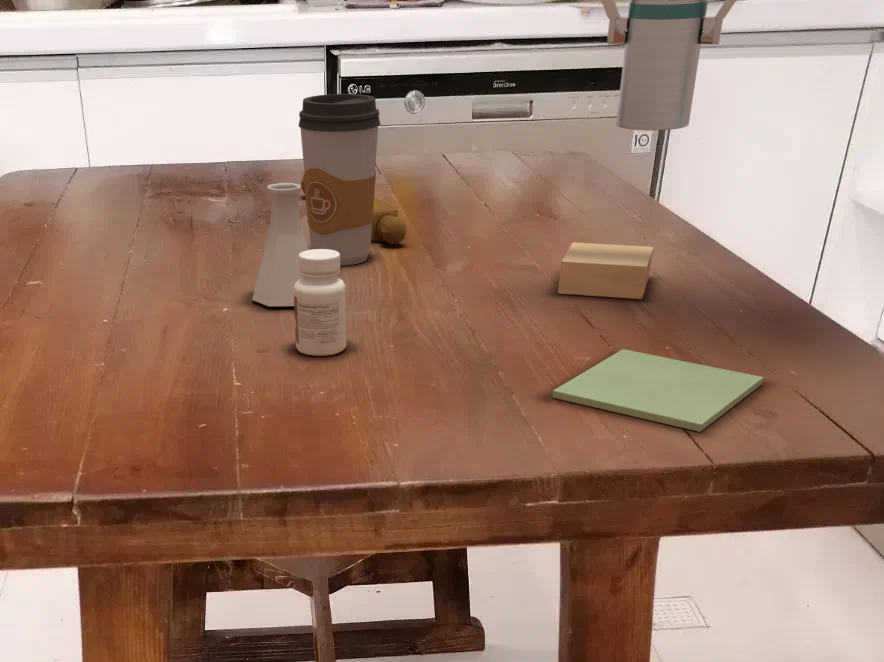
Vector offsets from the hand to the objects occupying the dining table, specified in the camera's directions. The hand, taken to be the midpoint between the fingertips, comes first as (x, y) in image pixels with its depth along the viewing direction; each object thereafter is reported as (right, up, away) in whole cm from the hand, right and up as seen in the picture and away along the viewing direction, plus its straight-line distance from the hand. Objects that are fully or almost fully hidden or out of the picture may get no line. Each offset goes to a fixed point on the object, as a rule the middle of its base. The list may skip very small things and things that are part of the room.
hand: (663, 43), depth 90 cm
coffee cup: (-26, -5, +29) cm, 39 cm away
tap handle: (-25, +7, +44) cm, 50 cm away
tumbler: (+1, +1, +3) cm, 3 cm away
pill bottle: (-28, -23, +6) cm, 37 cm away
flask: (-31, -14, +18) cm, 39 cm away
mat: (-2, -30, -4) cm, 30 cm away
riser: (0, -12, +19) cm, 22 cm away
